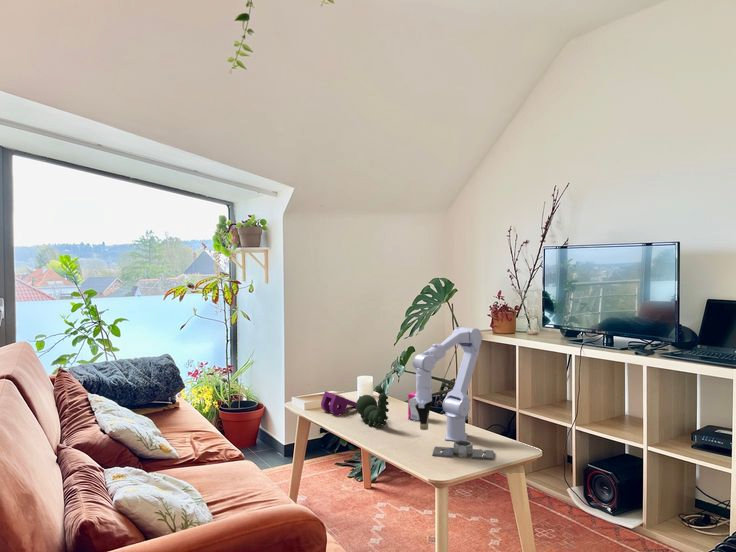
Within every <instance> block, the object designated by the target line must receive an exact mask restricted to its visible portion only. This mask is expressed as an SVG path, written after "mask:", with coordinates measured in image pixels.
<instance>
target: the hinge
mask: <svg viewBox="0 0 736 552" xmlns="http://www.w3.org/2000/svg"><path fill="white" fill-rule="evenodd" d="M473 446H474V443H473V442H472V441H470V440H466V441H465V440H459V441H454V442H453V447H451V446H450V447H448V446H447V447H446V446H434V449H433V451H432V457H442V458H454V456H456V457H457V456H458V458H470V457H471V459H474V460H483V461H484V460H486V461H494V456H493V455H494V452H495V451H494V450H493V449H476V448H473Z"/></svg>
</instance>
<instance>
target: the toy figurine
mask: <svg viewBox="0 0 736 552" xmlns="http://www.w3.org/2000/svg"><path fill="white" fill-rule="evenodd" d="M374 390H375V391H376V392H377V393H378V400H376V399H375V397H374V396H372V395H370V394H364V395H359V396H358V399H357V400H356V408H355V409H356V412H357V413H358V415H360V418H361V419H362V420H363V422H364V423H366V424H367V425H368V426H369V427H372V426H374V427H378V426H379V425H381V424H382V426H386V425H387V420H389V416H387V413H388V412H389V411H390V409H389V408H387V406H388V405H390V403H389V401H387V400H388V399H389V396H388V395H387V394H386V393H385V392H384V388H383V387H382V386H381V385H376V386H375V389H374Z"/></svg>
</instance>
